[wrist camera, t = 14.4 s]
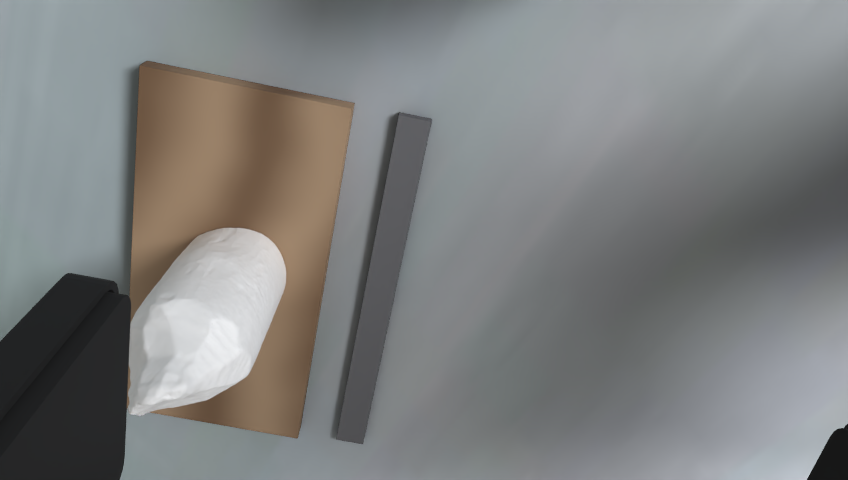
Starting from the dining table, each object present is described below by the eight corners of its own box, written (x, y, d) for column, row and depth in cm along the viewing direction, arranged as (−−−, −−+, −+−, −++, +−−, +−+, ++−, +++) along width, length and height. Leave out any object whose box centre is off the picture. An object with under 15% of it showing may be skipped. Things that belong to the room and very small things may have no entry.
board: (354, 103, 37) (352, 108, 36) (300, 427, 46) (297, 438, 45) (147, 60, 37) (139, 65, 36) (131, 397, 45) (124, 407, 44)
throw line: (431, 118, 37) (431, 121, 37) (363, 438, 46) (362, 444, 45) (399, 112, 37) (398, 115, 37) (337, 433, 46) (336, 439, 45)
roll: (156, 499, 31) (44, 412, 29) (231, 338, 42) (153, 267, 40) (259, 424, 29) (147, 326, 28) (310, 276, 40) (233, 199, 38)
